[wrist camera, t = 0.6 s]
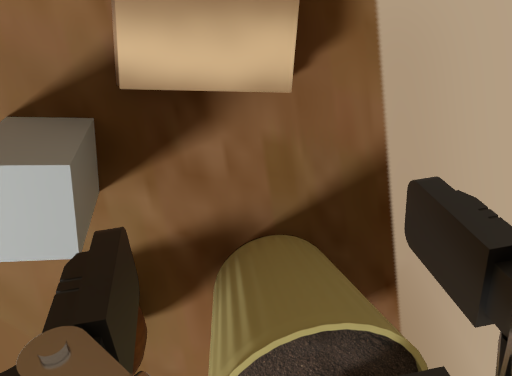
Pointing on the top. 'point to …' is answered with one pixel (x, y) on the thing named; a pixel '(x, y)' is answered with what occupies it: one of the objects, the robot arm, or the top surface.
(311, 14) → the top surface
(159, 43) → the tower top
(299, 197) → the top surface
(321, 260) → the potted cactus
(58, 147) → the block
